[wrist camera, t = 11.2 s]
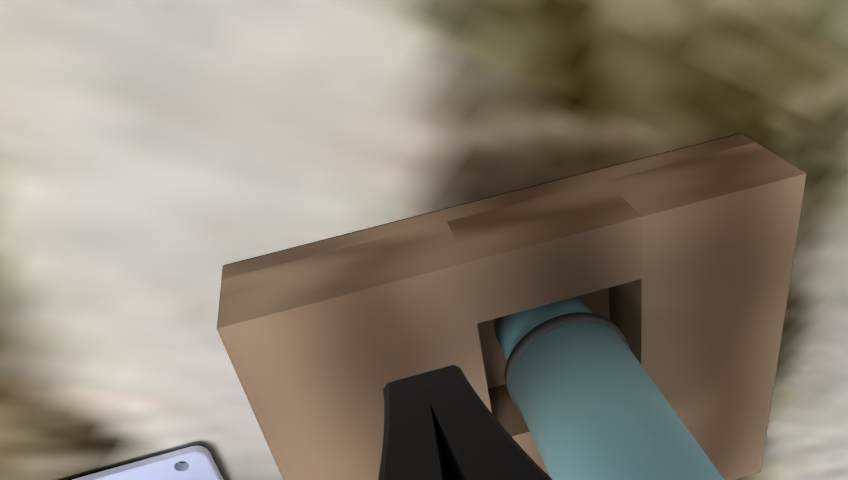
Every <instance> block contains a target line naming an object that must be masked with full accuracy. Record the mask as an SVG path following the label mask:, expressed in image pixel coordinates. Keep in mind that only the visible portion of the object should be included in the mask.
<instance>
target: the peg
mask: <svg viewBox="0 0 848 480" xmlns="http://www.w3.org/2000/svg"><path fill="white" fill-rule="evenodd" d="M494 331H495V335H496V338H497V340H498V342H499V344H500V347H501V349H502V351H503V353H504V355H505V357H506V359H507V363H506V366H505V373H504V374H505V384H506V387H507V389H508V392H509V394H510V396H511V398H512V400H513V402H514V403H515V405H516V406H517V407H518V408H519V409H520V411H521V413H522V415H523V418H524V420H525V422H526V424H527V426H528V429H529V431H530V433H531V435H532V437H533V440H534V442H535V444H536V446H537V449H538V451H539V453H540V455H541V457H542V460H543V462H544V464H545V466H546V468H547V471H548V473H549V475H550V477H551V479H552V480H724V479H723V477H722V476H721V474H720V473H719V472H718V470H717V469H716V468H715V466H714V465H713V463H712V462H711V461H710V459H709V458H708V457H707V455H706V454H705V452H704V451H703V450H702V448H701V447H700V445H699V444H698V443H697V441H696V440H695V439H694V437H693V436H692V434H691V433H690V432H689V430H688V429H687V428H686V426H685V425H684V423H683V422H682V421H681V419H680V418H679V416H678V415H677V414H676V412H675V411H674V410H673V408H672V407H671V405H670V404H669V403H668V401H667V400H666V399H665V397H664V396H663V394H662V393H661V392H660V390H659V389H658V387H657V386H656V385H655V383H654V382H653V381H652V379H651V378H650V376H649V375H648V374H647V372H646V371H645V370H644V368H643V367H642V365H641V364H640V363H639V361H638V360H637V358H636V357H635V356H634V354H633V353H632V352H631V350H630V349H629V345H628V342H627V340H626V338H625V337H624V335H623V334H622V332H621V331H620V330H619V328H618V327H617V326H616V325H615V324H614V323H613V322H612V321H611V320H609V319H608V318H606V317H603V316H601V315H598V314H594V313H592V311H591V310H590V308H589V307H588V305H587V304H586V303H585V301H584V300H583V298H582V297H581V296H577V297H573V298H569V299H565V300H562V301H558V302H554V303H551V304H547V305H543V306H540V307H536V308H532V309H529V310H525V311H521V312H518V313H514V314H510V315H507V316H503V317H499V318H495V322H494Z"/></svg>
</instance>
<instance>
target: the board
mask: <svg viewBox="0 0 848 480" xmlns="http://www.w3.org/2000/svg"><path fill="white" fill-rule="evenodd" d="M805 180H806V173H805V172H803V171H802V170H800V169H798V168H797V167H795V166H794V165H792V164H790V163H789V162H787V161H785V160H784V159H782V158H780V157H779V156H777V155H776V154H774V153H772V152H771V151H769V150H767V149H766V148H764V147H762V146H761V145H759V144H758V143H756V142H754V141H753V140H751V139H749V138H748V137H746V136H745V135H743V134H737V135H733V136H729V137H725V138H721V139H717V140H713V141H709V142H705V143H702V144H698V145H694V146H690V147H686V148H682V149H678V150H674V151H670V152H666V153H662V154H659V155H655V156H651V157H647V158H643V159H639V160H635V161H631V162H627V163H623V164H619V165H616V166H612V167H608V168H604V169H600V170H596V171H592V172H588V173H584V174H580V175H576V176H573V177H569V178H565V179H561V180H557V181H553V182H549V183H545V184H541V185H537V186H533V187H530V188H526V189H522V190H518V191H514V192H510V193H506V194H502V195H498V196H494V197H490V198H487V199H483V200H479V201H475V202H471V203H467V204H463V205H459V206H455V207H451V208H447V209H444V210H440V211H436V212H432V213H428V214H424V215H420V216H416V217H412V218H408V219H404V220H401V221H397V222H393V223H389V224H385V225H381V226H377V227H373V228H369V229H365V230H361V231H358V232H354V233H350V234H346V235H342V236H338V237H334V238H330V239H326V240H322V241H318V242H315V243H311V244H307V245H303V246H299V247H295V248H291V249H287V250H283V251H279V252H275V253H272V254H268V255H264V256H260V257H256V258H252V259H248V260H244V261H240V262H236V263H232V264H229V265H225V266H223V270H222V280H221V291H220V301H219V312H218V322H217V330H218V332H219V335H220V337H221V339H222V342H223V344H224V346H225V348H226V351H227V353H228V355H229V357H230V360H231V362H232V364H233V366H234V369H235V371H236V373H237V376H238V378H239V380H240V382H241V385H242V387H243V389H244V391H245V394H246V396H247V398H248V401H249V403H250V405H251V407H252V410H253V412H254V414H255V416H256V419H257V421H258V423H259V426H260V428H261V430H262V432H263V435H264V437H265V439H266V441H267V444H268V446H269V448H270V450H271V453H272V455H273V457H274V460H275V462H276V464H277V466H278V469H279V471H280V473H281V475H282V478H283V480H378V478H379V470H380V463H381V455H382V447H383V434H384V395H383V388H384V387H385V386H386V384H387V383H389V382H392V381H396V380H400V379H403V378H407V377H410V376H414V375H418V374H421V373H425V372H429V371H432V370H436V369H439V368H443V367H447V366H450V365H456V366H458V367H460V368H461V370H462V372H463V373H464V375H465V377H466V378H467V380H468V381H469V383H470V385H471V386H472V388H473V389H474V390H475V392H476V393H477V395H478V396H479V397H480V399H481V400H482V401H483V403H484V404H485V405H486V407H487V408H488V409H489V410H490V412H491V413H492V414H493V416H494V417H495V418H496V419H497V420H498V422H499V423H500V424H501V425H502V426H503V428H504V429H505V430H506V431H507V432H508V433H509V434H510V435H511V436H512V438H513V439H514V440H515V441H516V442H517V443H518V444H519V445H520V447H521V448H522V449H523V450H524V451H525V452H526V453H527V454H528V455H529V456H530V457H531V458H532V459H533V460H534V462H535V463H536V464H537V465H538V466H539V467H540V468H541V469H542V470H543V471H544V472H545V473H546V474H547V475H548V476H549V477H550V475H549V473H548V471H547V468H546V466H545V464H544V462H543V460H542V457H541V455H540V453H539V451H538V449H537V446H536V444H535V442H534V440H533V437H532V435H531V433H530V431H529V429H528V426H527V424H526V422H525V420H524V418H523V415H522V413H521V411H520V409H519V408H518V407H517V406H516V405H515V403H514V402H513V400H512V398H511V396H510V394H509V392H508V389H507V387H506V384H505V374H504V373H505V366H506V363H507V359H506V357H505V355H504V353H503V351H502V349H501V347H500V344H499V342H498V340H497V338H496V335H495V331H494V322H495V318H499V317H503V316H507V315H510V314H514V313H518V312H521V311H525V310H529V309H532V308H536V307H540V306H543V305H547V304H551V303H554V302H558V301H562V300H565V299H569V298H573V297H577V296H581V297H582V298H583V300H584V301H585V303H586V304H587V305H588V307H589V308H590V310H591V311H592V313H594V314H598V315H601V316H603V317H606V318H608V319H609V320H611V321H612V322H613V323H614V324H615V325H616V326H617V327H618V328H619V330H620V331H621V332H622V334H623V335H624V337H625V338H626V340H627V342H628V345H629V349H630V350H631V352H632V353H633V354H634V356H635V357H636V358H637V360H638V361H639V363H640V364H641V365H642V367H643V368H644V370H645V371H646V372H647V374H648V375H649V376H650V378H651V379H652V381H653V382H654V383H655V385H656V386H657V387H658V389H659V390H660V392H661V393H662V394H663V396H664V397H665V399H666V400H667V401H668V403H669V404H670V405H671V407H672V408H673V410H674V411H675V412H676V414H677V415H678V416H679V418H680V419H681V421H682V422H683V423H684V425H685V426H686V428H687V429H688V430H689V432H690V433H691V434H692V436H693V437H694V439H695V440H696V441H697V443H698V444H699V445H700V447H701V448H702V450H703V451H704V452H705V454H706V455H707V457H708V458H709V459H710V461H711V462H712V463H713V465H714V466H715V468H716V469H717V470H718V472H719V473H720V474H721V476H722V477H723V479H724V480H736V479H739V478H742V477H746V476H749V475H752V474H756V473H759V472H761V468H762V461H763V455H764V448H765V442H766V435H767V429H768V422H769V416H770V409H771V402H772V396H773V389H774V383H775V376H776V370H777V363H778V357H779V350H780V344H781V337H782V330H783V324H784V317H785V311H786V304H787V298H788V291H789V285H790V278H791V272H792V265H793V258H794V252H795V245H796V239H797V232H798V226H799V219H800V213H801V206H802V200H803V193H804V186H805ZM550 478H551V477H550Z"/></svg>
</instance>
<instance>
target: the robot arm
mask: <svg viewBox="0 0 848 480" xmlns="http://www.w3.org/2000/svg"><path fill="white" fill-rule="evenodd" d="M383 395H384V434H383V447H382V455H381V463H380V470H379V478H378V480H552V479H551V478H550V477H549V476H548V475H547V474H546V473H545V472H544V471H543V470H542V469H541V468H540V467H539V466H538V465H537V464H536V463H535V462H534V460H533V459H532V458H531V457H530V456H529V455H528V454H527V453H526V452H525V451H524V450H523V449H522V448H521V447H520V445H519V444H518V443H517V442H516V441H515V440H514V439H513V438H512V436H511V435H510V434H509V433H508V432H507V431H506V430H505V429H504V428H503V426H502V425H501V424H500V423H499V422H498V420H497V419H496V418H495V417H494V416H493V414H492V413H491V412H490V410H489V409H488V408H487V407H486V405H485V404H484V403H483V401H482V400H481V399H480V397H479V396H478V395H477V393H476V392H475V390H474V389H473V388H472V386H471V385H470V383H469V381H468V380H467V378H466V377H465V375H464V373H463V372H462V370H461V368H460V367H458V366H456V365H450V366H447V367H443V368H439V369H436V370H432V371H429V372H425V373H421V374H418V375H414V376H410V377H407V378H403V379H400V380H396V381H392V382H389V383H387V384H386V386H385V387H384V388H383ZM180 461H184V462H186V463H179V462H180ZM72 480H224V479H223V477H222V475H221V474H220V472H219V470H218V468H217V466H216V464H215V462H214V460H213V458H212V456H211V454H210V452H209V451H208V450H207V449H206V448H204V447H202V446H191V447H187V448H184V449H180V450H177V451H173V452H169V453H166V454H162V455H159V456H155V457H151V458H148V459H144V460H141V461H137V462H133V463H130V464H126V465H122V466H119V467H115V468H112V469H108V470H104V471H101V472H97V473H94V474H90V475H86V476H83V477H79V478H76V479H72Z"/></svg>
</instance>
